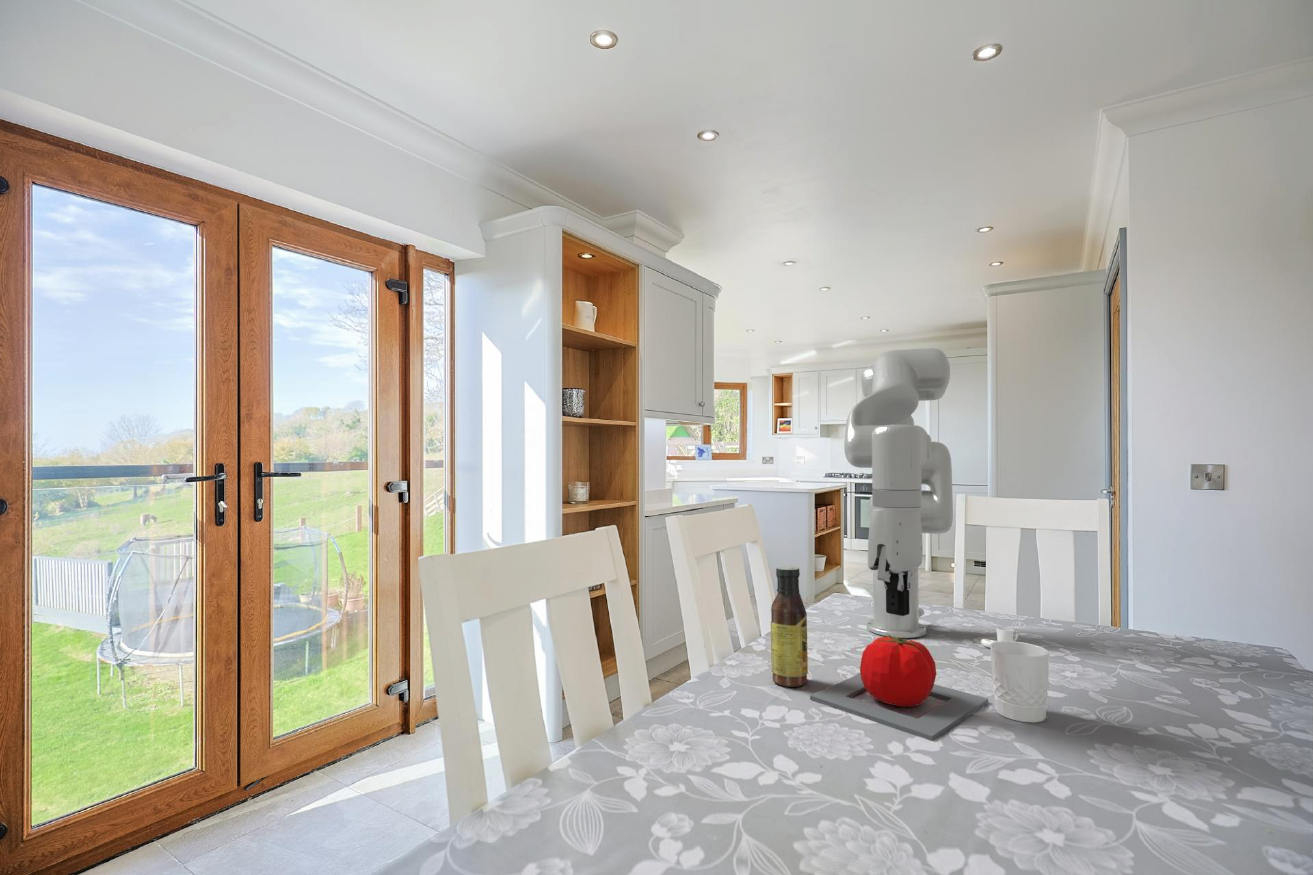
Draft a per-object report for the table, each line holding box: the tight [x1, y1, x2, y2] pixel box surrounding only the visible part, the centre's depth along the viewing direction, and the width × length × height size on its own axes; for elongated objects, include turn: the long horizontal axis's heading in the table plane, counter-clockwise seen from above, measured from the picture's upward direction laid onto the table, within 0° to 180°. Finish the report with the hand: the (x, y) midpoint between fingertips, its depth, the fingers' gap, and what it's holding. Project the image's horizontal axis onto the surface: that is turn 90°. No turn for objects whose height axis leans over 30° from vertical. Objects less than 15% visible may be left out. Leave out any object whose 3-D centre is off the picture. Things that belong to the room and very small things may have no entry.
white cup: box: [989, 641, 1050, 724], centre depth 98 cm, size 8×8×10 cm
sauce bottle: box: [770, 565, 809, 688], centre depth 112 cm, size 6×6×20 cm
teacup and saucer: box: [980, 626, 1019, 649], centre depth 132 cm, size 9×8×4 cm
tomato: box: [859, 634, 937, 708], centre depth 103 cm, size 12×12×10 cm
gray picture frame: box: [809, 673, 989, 741], centre depth 103 cm, size 20×20×1 cm
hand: (897, 613), depth 103 cm, fingers closed
